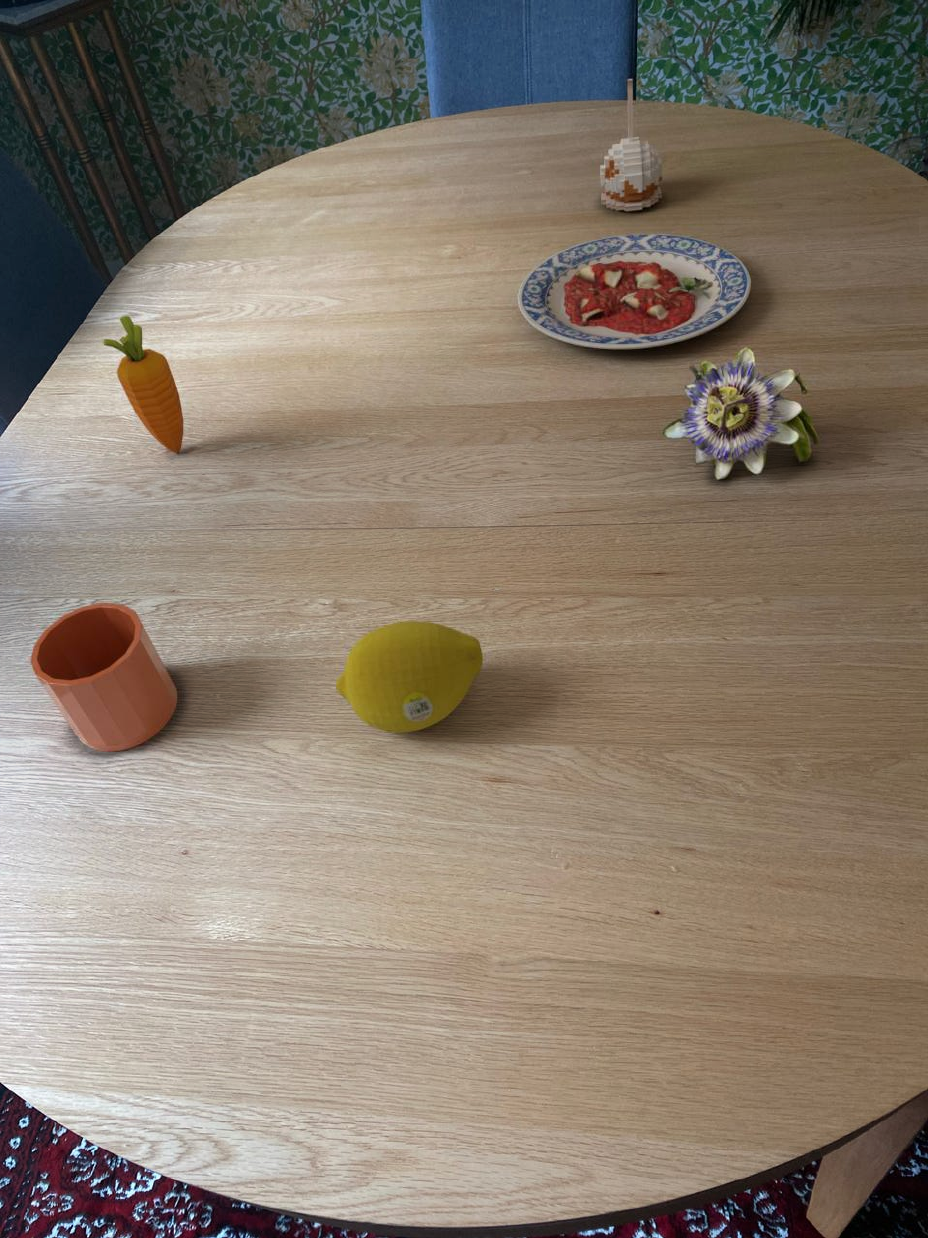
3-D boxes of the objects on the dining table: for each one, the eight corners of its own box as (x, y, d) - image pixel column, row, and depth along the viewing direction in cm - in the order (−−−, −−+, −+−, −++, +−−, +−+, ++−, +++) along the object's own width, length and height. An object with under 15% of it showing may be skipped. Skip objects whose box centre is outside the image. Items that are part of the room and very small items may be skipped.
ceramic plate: (493, 359, 107) (490, 334, 105) (548, 249, 124) (547, 226, 122) (735, 371, 100) (737, 344, 98) (760, 252, 116) (762, 227, 114)
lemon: (343, 758, 72) (318, 688, 66) (352, 677, 77) (329, 606, 72) (490, 746, 71) (477, 674, 65) (489, 665, 76) (477, 592, 71)
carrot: (185, 469, 100) (131, 337, 90) (145, 464, 102) (86, 335, 91) (209, 440, 103) (159, 310, 93) (169, 436, 105) (116, 307, 94)
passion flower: (720, 521, 92) (644, 443, 86) (735, 436, 98) (664, 357, 92) (832, 484, 84) (757, 395, 78) (842, 394, 90) (772, 304, 84)
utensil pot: (69, 761, 75) (22, 694, 69) (82, 682, 81) (40, 614, 75) (174, 740, 75) (136, 672, 70) (180, 662, 81) (145, 593, 75)
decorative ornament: (599, 192, 133) (596, 73, 123) (657, 186, 132) (659, 64, 122) (603, 217, 128) (599, 94, 117) (663, 210, 127) (665, 86, 116)
